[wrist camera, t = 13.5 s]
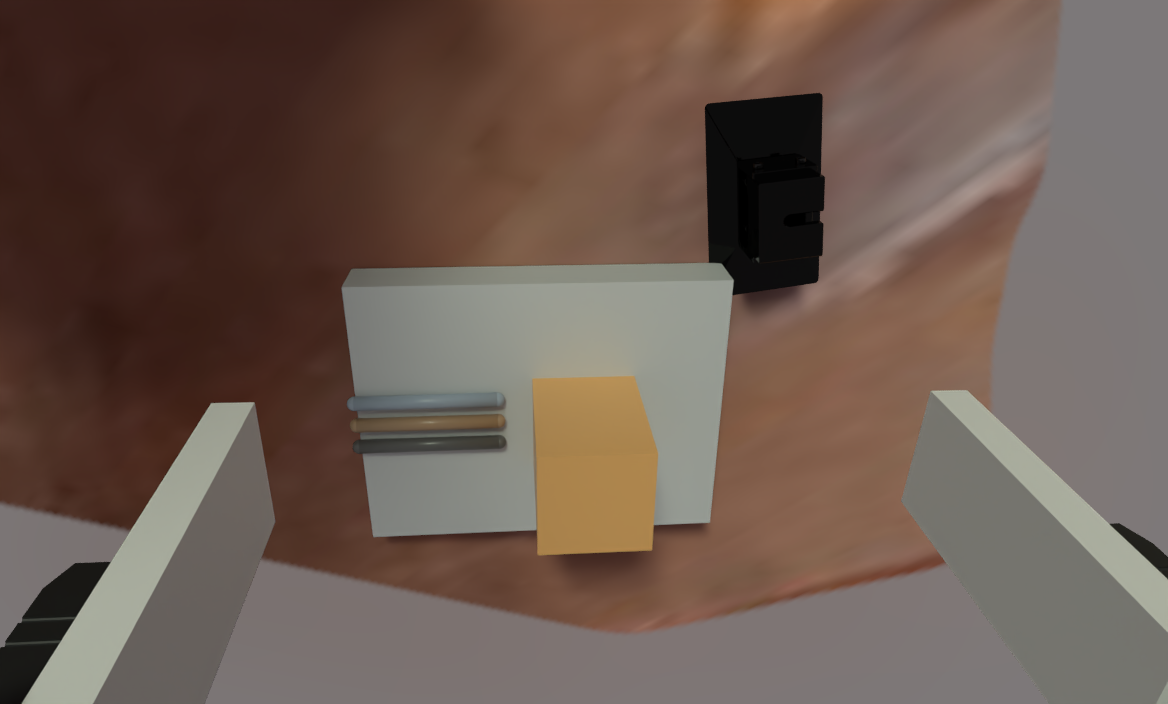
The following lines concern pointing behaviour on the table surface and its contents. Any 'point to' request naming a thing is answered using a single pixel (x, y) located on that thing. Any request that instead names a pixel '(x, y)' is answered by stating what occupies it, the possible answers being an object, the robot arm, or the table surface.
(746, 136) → the black power adapter
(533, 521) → the junction plate
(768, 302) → the table surface
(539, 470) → the cardboard-colored cube
